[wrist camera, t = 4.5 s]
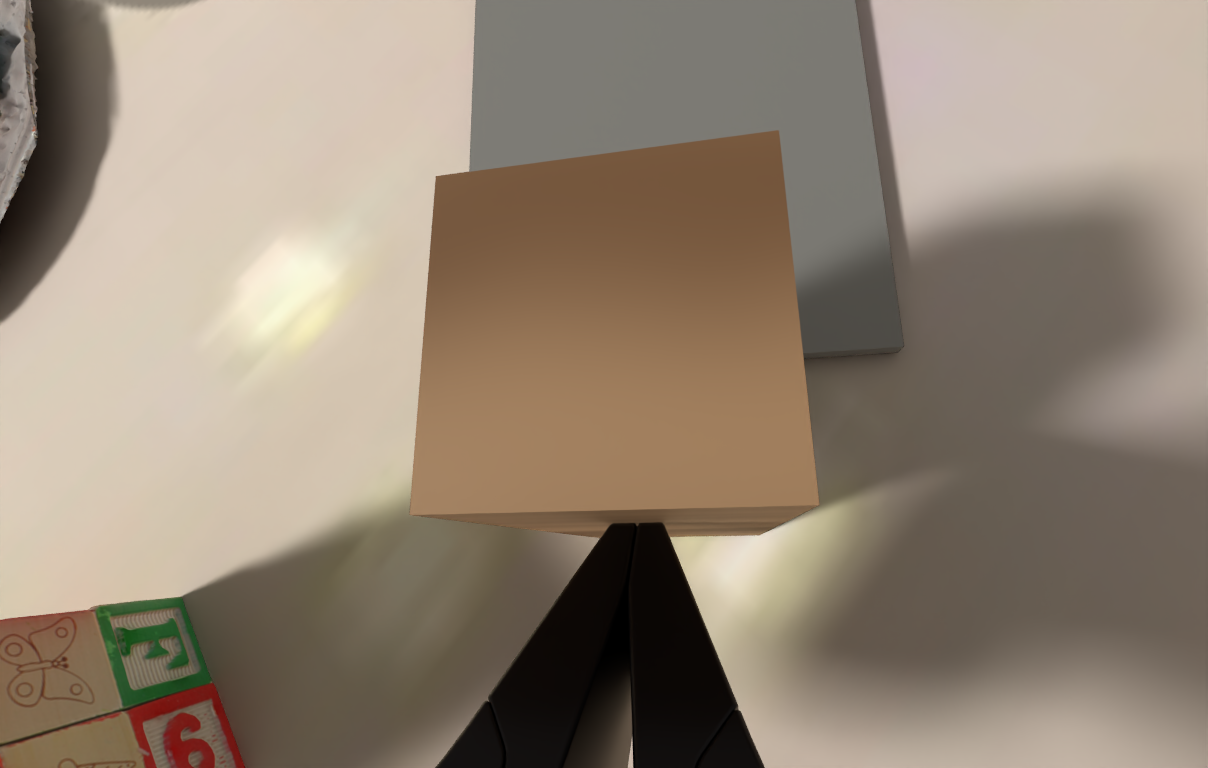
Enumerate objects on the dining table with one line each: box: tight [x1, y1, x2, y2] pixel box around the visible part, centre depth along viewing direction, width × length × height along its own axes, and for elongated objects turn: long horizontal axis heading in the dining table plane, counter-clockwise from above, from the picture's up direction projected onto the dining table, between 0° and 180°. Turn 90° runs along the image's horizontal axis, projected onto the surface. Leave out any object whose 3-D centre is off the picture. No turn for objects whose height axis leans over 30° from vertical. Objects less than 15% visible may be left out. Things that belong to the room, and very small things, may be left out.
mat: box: [469, 0, 904, 359], centre depth 20 cm, size 16×13×1 cm
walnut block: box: [410, 130, 819, 538], centre depth 12 cm, size 4×4×11 cm
